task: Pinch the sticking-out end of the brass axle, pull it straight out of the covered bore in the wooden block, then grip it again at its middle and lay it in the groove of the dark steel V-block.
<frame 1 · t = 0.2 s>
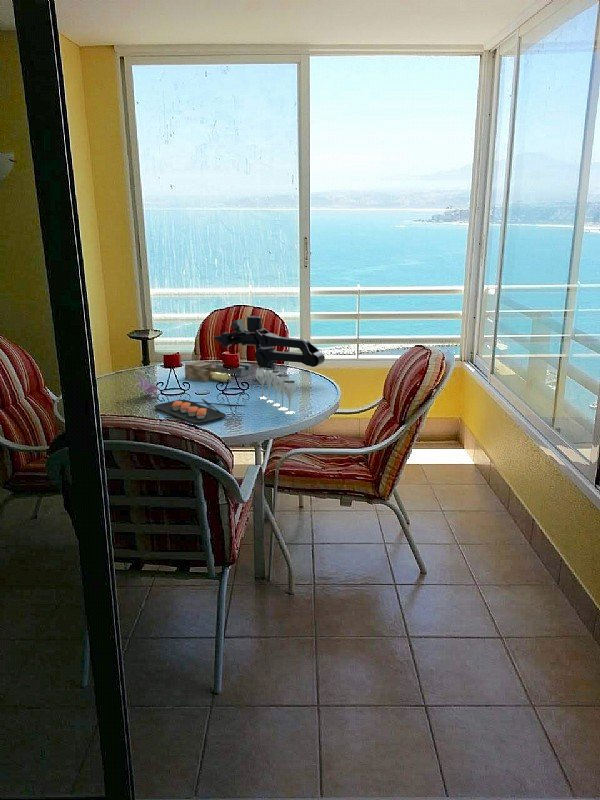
hand: (219, 336, 294), 17 cm above the table, tool horizontal, fingers open, 9 cm apart
sushi plate: (206, 411, 239), on the table
wooden block: (201, 378, 285), on the table
axle: (214, 376, 282), point 2 cm above the table
goblet set: (275, 405, 247), on the table
v block: (234, 372, 296), on the table
lily: (147, 398, 254), on the table
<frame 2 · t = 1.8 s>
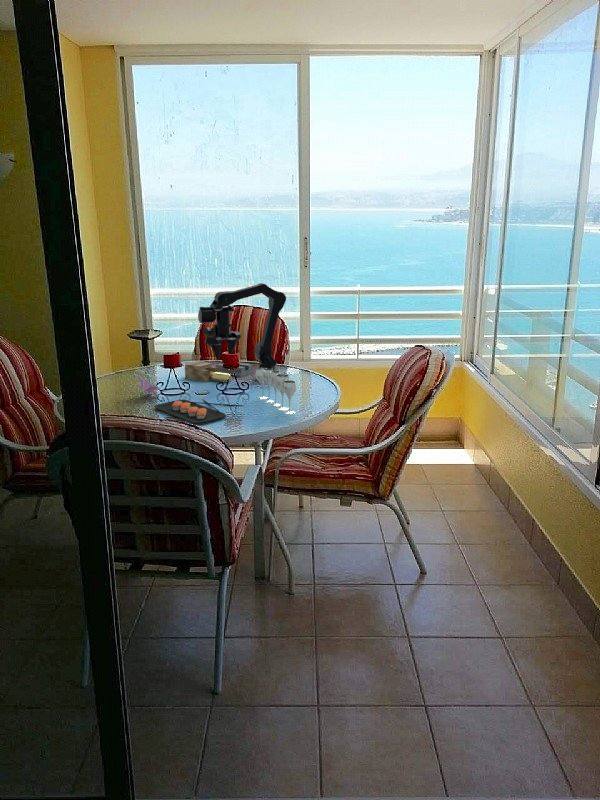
hand: (223, 357, 277), 11 cm above the table, tool pointing down, fingers open, 9 cm apart
nothing on the table moved.
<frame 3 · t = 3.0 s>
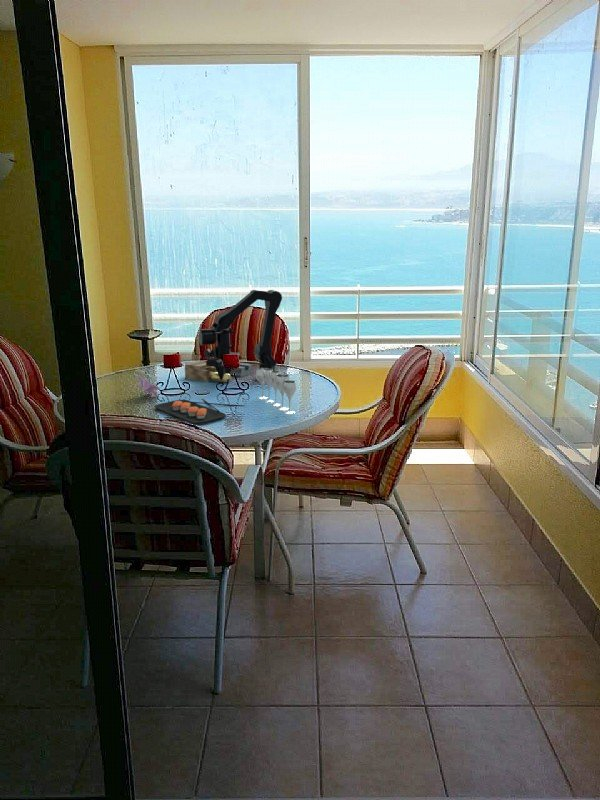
hand: (224, 378, 279), 2 cm above the table, tool pointing down, fingers closed on axle, 4 cm apart
axle: (214, 376, 282), point 2 cm above the table, touching gripper
everything else where it was.
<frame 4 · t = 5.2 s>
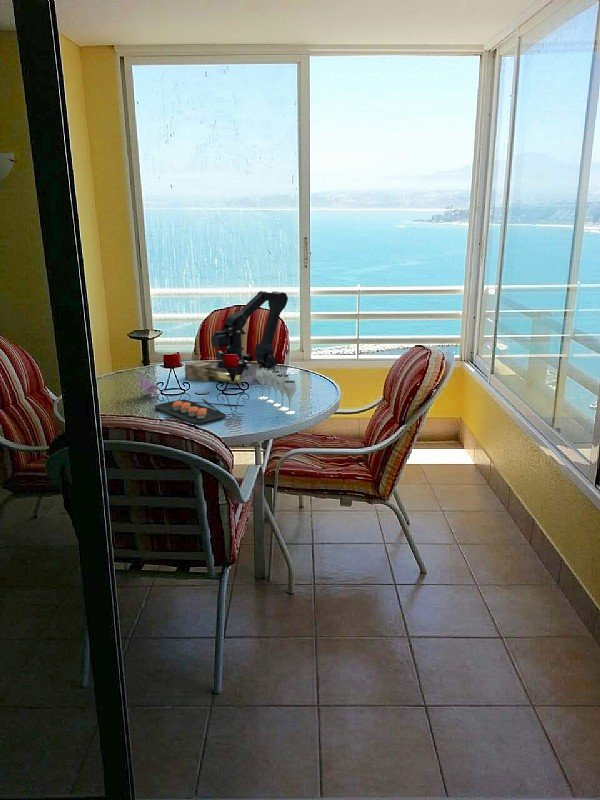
hand: (235, 380, 277), 1 cm above the table, tool pointing down, fingers closed on axle, 4 cm apart
axle: (224, 377, 279), point 2 cm above the table, touching gripper
everything else where it was.
when the fingers open (1 cm above the table, at t = 6.9 s): axle stays where it is, point 2 cm above the table.
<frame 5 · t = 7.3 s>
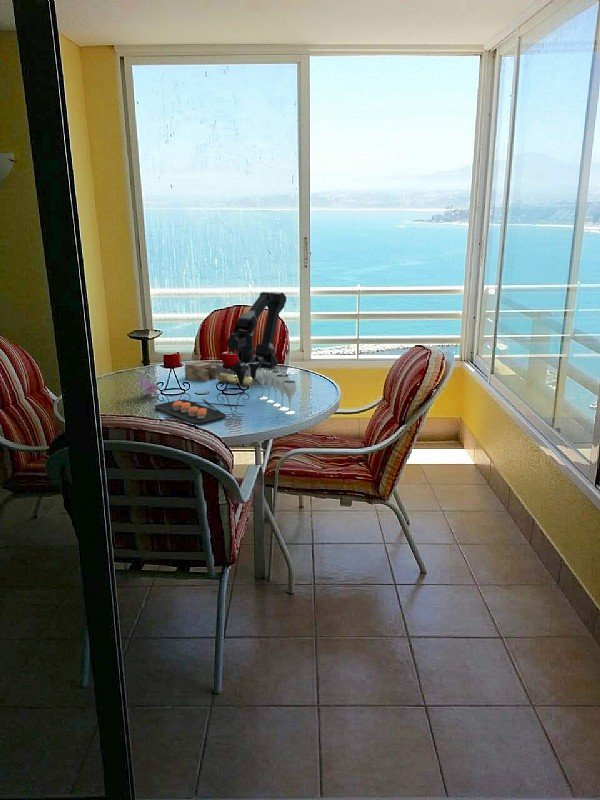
hand: (246, 381, 274), 1 cm above the table, tool pointing down, fingers open, 9 cm apart
axle: (235, 379, 276), point 2 cm above the table
everything else where it was.
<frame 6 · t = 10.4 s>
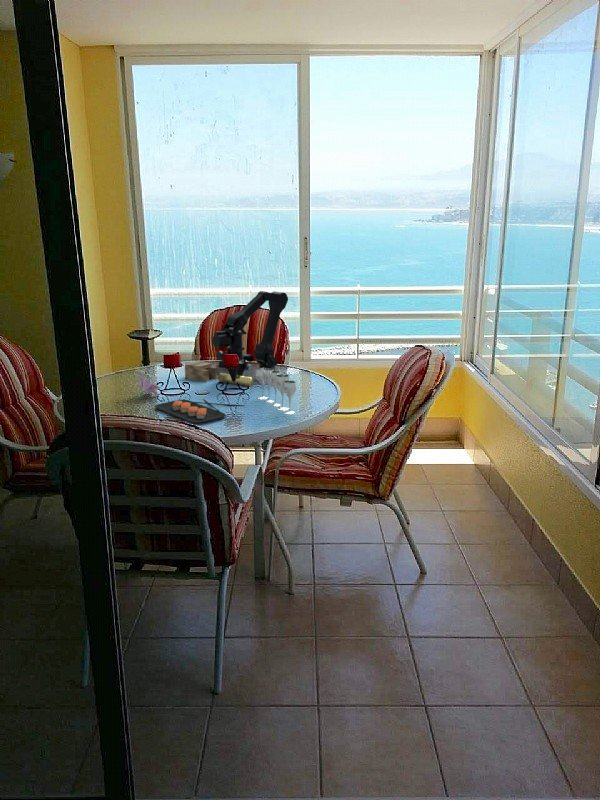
hand: (236, 380, 276), 2 cm above the table, tool pointing down, fingers closed on axle, 4 cm apart
axle: (235, 379, 276), point 2 cm above the table, touching gripper
everything else where it was.
when the fingers open (6 cm above the table, at t = 15.0 s): axle drops 1 cm, resting on v block.
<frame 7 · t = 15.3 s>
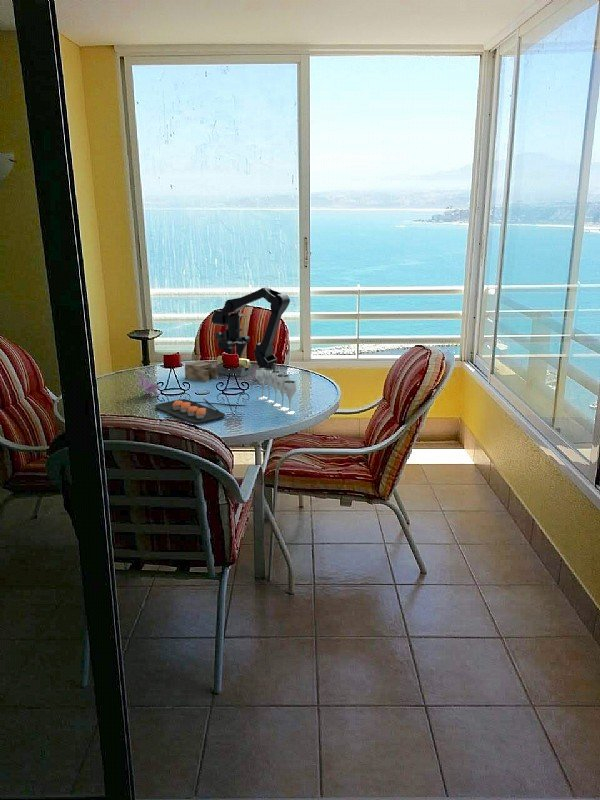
hand: (234, 359, 294), 6 cm above the table, tool pointing down, fingers open, 7 cm apart
axle: (233, 361, 294), point 5 cm above the table, touching v block
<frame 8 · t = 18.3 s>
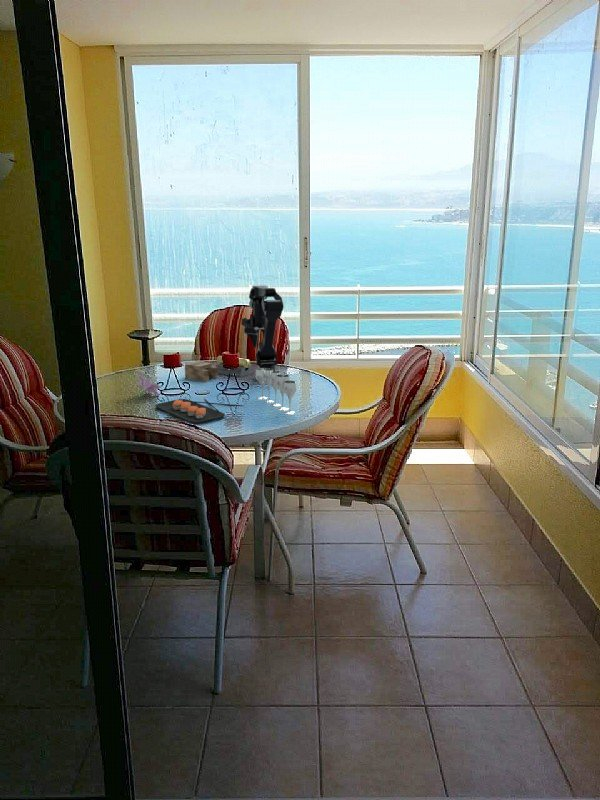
hand: (260, 345, 297), 12 cm above the table, tool pointing down, fingers open, 9 cm apart
at the end: axle 0.4 cm off-centre on the v block, point 5.3 cm above the v block's base; the gripper is holding nothing; axle moved 16.4 cm from its start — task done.
